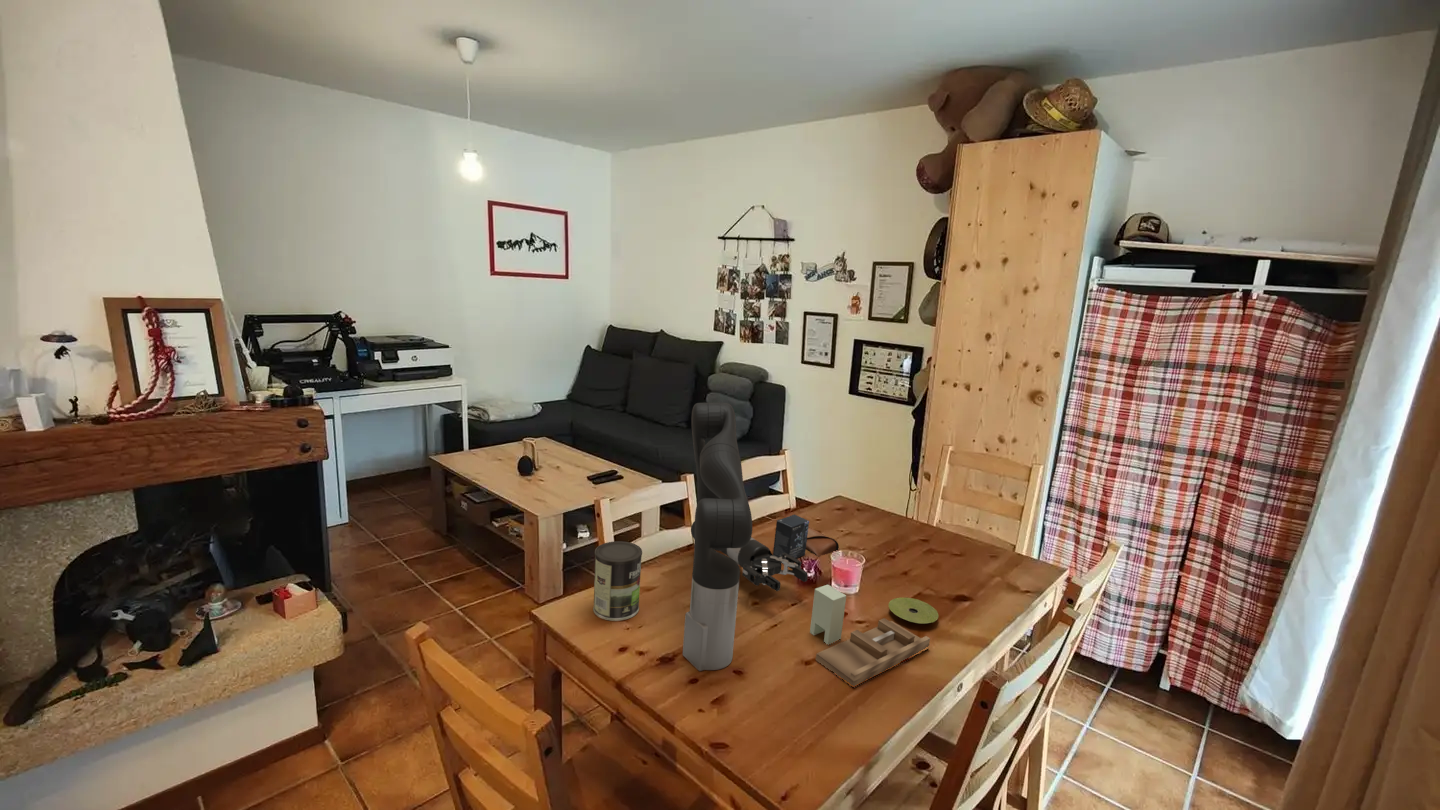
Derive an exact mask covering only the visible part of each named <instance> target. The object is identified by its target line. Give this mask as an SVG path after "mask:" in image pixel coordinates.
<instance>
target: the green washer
mask: <svg viewBox="0 0 1440 810" xmlns="http://www.w3.org/2000/svg"><path fill="white" fill-rule="evenodd" d="M888 609H889V610H890V611H891V612H892V613H893V614H894V615H895V616H896V617H899V618H900V619H903V620H905V621H908V622H910V623H915V624H922V625H923V624H924V625H925V624H931V623H935V622H936V621H937V620H938V619H939V613H938V610H937V609H936V608H934V607H933V606H932V605H930V604H929V603H927V602H925V601H923V600H920V599H916V598H912V597H897V598H896V597H895V598H893V599H891V600H890V601H889V602H888Z"/></svg>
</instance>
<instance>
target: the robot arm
mask: <svg viewBox="0 0 1440 810" xmlns="http://www.w3.org/2000/svg"><path fill="white" fill-rule="evenodd" d="M736 422H737V421H736V413H735V409H734V408H733V406H732V405H731V404H730V403H728V402H697V403H695V404H694V405H693V407H692V410H691V432H692V433H691V434H692V436H691V437H692V445H693V453H694V454H693V455H694V463H695V470H696V480H697V505H696V508H695V513H694V514H695V515H694V521H693V522H692V523H691V526H690V527H691V528H690V532H691V536H692V538H693V539H694V549H693V563H692V576H691V577H692V578H691V590H690V591H691V592H690V605H689V611H687V612H685V615H684V616H685V617H684V630H683V642H682V656H683V657H684V658H685V660H687V661H688V662H690V664H691V665H692V666H693V667H694V668H696V670H698V671H699V672H702V671H705V670H706V671H717V670H722V669H725V668H726V667H727V666H729V665H731V662H732V661H733V655H734V643H735V632H736V622H737V621H736V620H737V619H736V618H737V610H738V597H739V588H740V575H742V577H745V579H746V580H748V581H749V582H750V583H752V584H753V585H755V586H759V585H760V584H761V585H763V586H767V587H769V588H770V589H772V590H774V591H776V592H779V591H780V590H781V581H780V580H778V579H776V578H775V577H773V576H774V575H782V576H786V575H792V576H794V577H795V578H797V579H799V580H800V581H802V582H803V583H805V582H807V581H808V576H809V575H808V572H807V571H805V570H804V569H802V561H801V560H799V559H798V558H794V557H792V556H790V555H788V554H787V553H783V554H782V557H777V556H774V555H773V552H772V551H771V549H770V548H769V547H768V546H766V545H765V544H763V543H761V541H759V540H757V539H756V538H754V537H752V536H753V518H752V511H751V506H750V503H749V500H748V497H747V496H748V495H747V493H746V490H745V484H744V477H743V468H742V461H741V454H740V452H739V451H740V450H739V446H738V440H737V439H738V438H737V426H736V425H737V423H736ZM705 440H708V441H707V443H706V441H705ZM720 552H721V553H720ZM722 553H723V554H722ZM782 565H783V569H782ZM740 567H741V568H742V574H741V569H740Z"/></svg>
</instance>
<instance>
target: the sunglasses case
mask: <svg viewBox="0 0 1440 810" xmlns="http://www.w3.org/2000/svg"><path fill="white" fill-rule="evenodd" d="M839 548H840V545H839V542H838V541H837V539H836V540H835V539H834V538H832V537H829V536H827V535H825V534H824V533H821V532H820V531H817V530H815V529H813V528H812V527H809V526H808V535H807V543H806V551H808V552H810V553H812V555H814V554H815V555H814V556H816V557H819V558H820V557H822V556H826V555H828V554H832V553H834V552H833V551H835V552H837V551H836V550H838V551H839ZM831 552H832V553H831Z"/></svg>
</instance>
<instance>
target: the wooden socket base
mask: <svg viewBox="0 0 1440 810" xmlns="http://www.w3.org/2000/svg"><path fill="white" fill-rule="evenodd" d="M930 641H931V638H930V637H929V636H927V635H924V636H923V637H919V636H918V635H916V634H914V633H913V632H912V631H909V630H908V629H907V628H905V627H903V626H902V625H900V624H898V623H896V622H894V621H893V620H888V619H887V618H886V617H883V618H881V619H879V620H878V622H877V626H876V627H874V628H871V629H869V630H867V631H865V632H862V631H860V630H859V629H855V630H853V631H851V632H850V637H849V638H848V639H846V640H844V641H842V642H840V643H837V644H835V645H833V646H830V647H828V648H826V649H823V650H821V651H819V652H816V654H815V661H816V662H817V663H819V664H820V663H821V665H822V666H823V665H824V666H825V667H824V666H823V667H824V668H826V669H827V668H828V669H829V670H828V669H827V670H828V671H830V670H831V671H833V672H834V673H836V674H837V675H838V676H840V677H841V678H843V679H844V680H846V681H847V682H849V683H850V684H851V685H853V686H855V685H857V684H859V683H861V682H863V681H865V680H866V679H869V678H870V677H873V676H874V675H877V674H879V673H880V672H883V671H885V670H886V669H888V668H890V667H892V666H894V665H896V664H898V663H900V662H901V661H903V660H905V659H907V658H909V657H910V656H912V655H914V654H916V653H918V652H919V651H921V650H923V649H925V648H926V647H928V646H929V647H930ZM831 671H830V672H831ZM834 673H833V674H834ZM838 676H837V677H838Z"/></svg>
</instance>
